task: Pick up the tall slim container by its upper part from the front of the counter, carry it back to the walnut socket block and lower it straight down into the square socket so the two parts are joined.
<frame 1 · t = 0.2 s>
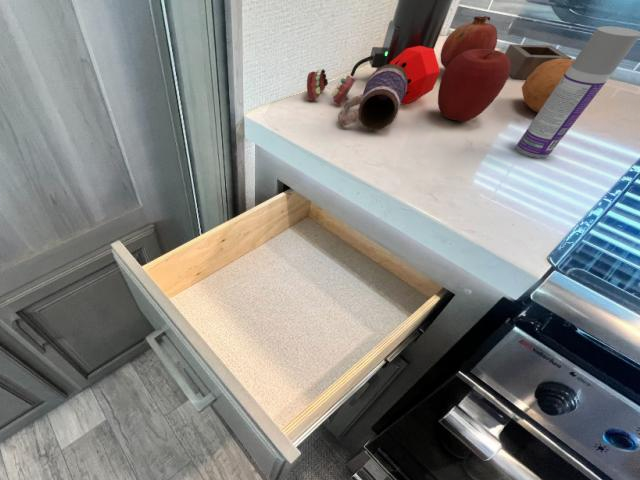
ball: (393, 88, 64), point 1 cm above the worktop
mug: (377, 87, 60), point 3 cm above the worktop
fruit: (456, 75, 72), on the worktop
dentures: (354, 88, 61), point 2 cm above the worktop
container: (531, 151, 51), on the worktop
apple: (454, 118, 59), on the worktop
potato: (539, 111, 60), on the worktop
socket: (526, 72, 73), on the worktop
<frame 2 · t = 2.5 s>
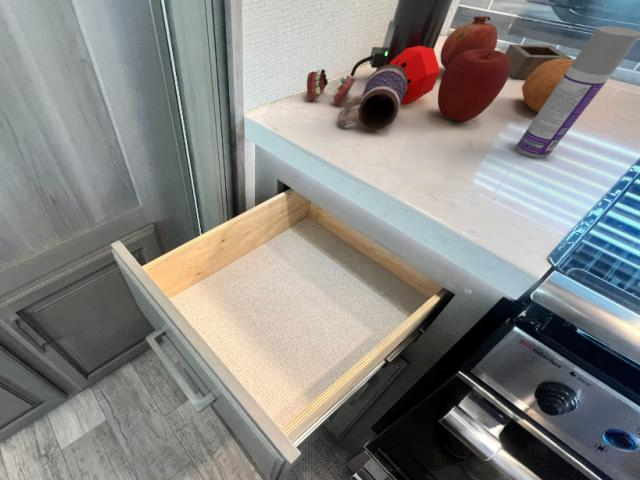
nothing on the worktop moved.
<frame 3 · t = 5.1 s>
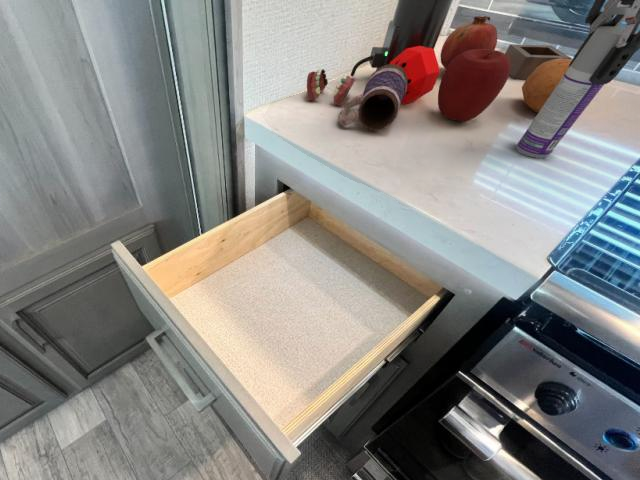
hand: (587, 75, 43), 10 cm above the worktop, tool pointing down, fingers closed on container, 4 cm apart
container: (531, 151, 51), on the worktop, touching gripper
everything else where it was.
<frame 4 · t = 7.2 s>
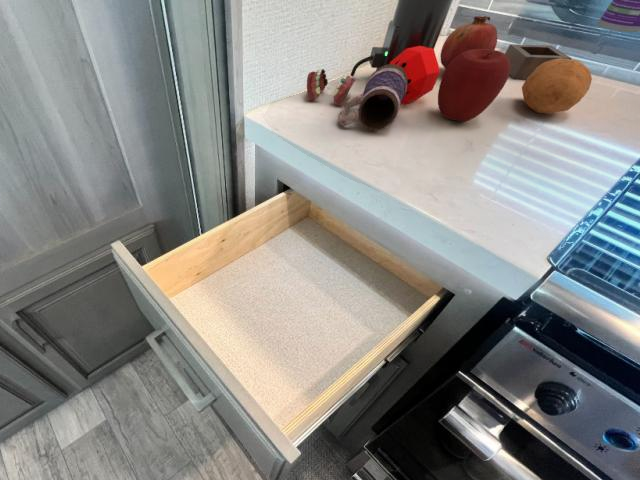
container: (618, 28, 39), point 15 cm above the worktop, touching gripper
everything else where it was.
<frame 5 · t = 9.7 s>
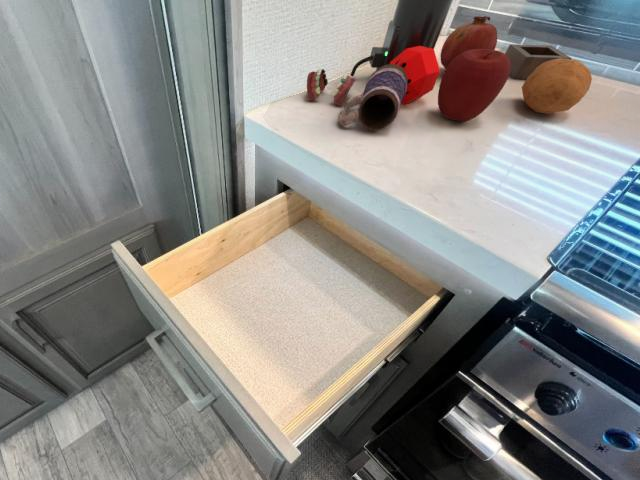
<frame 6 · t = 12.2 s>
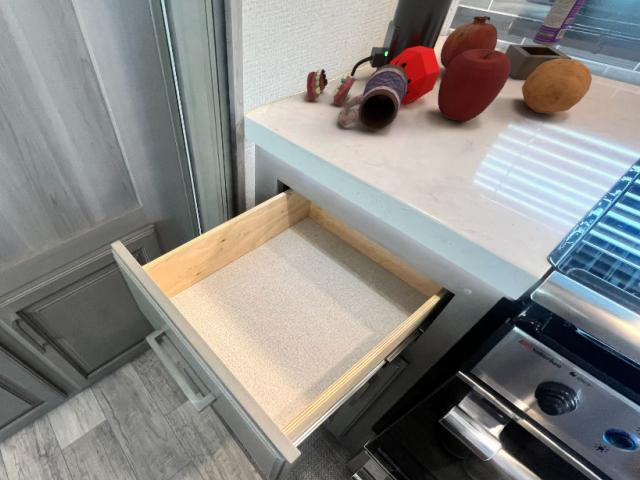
container: (544, 43, 68), point 5 cm above the worktop, touching gripper
everything else where it was.
when the fingers open (10 cm above the worktop, at t = 14.2 s): container stays where it is, resting in socket.
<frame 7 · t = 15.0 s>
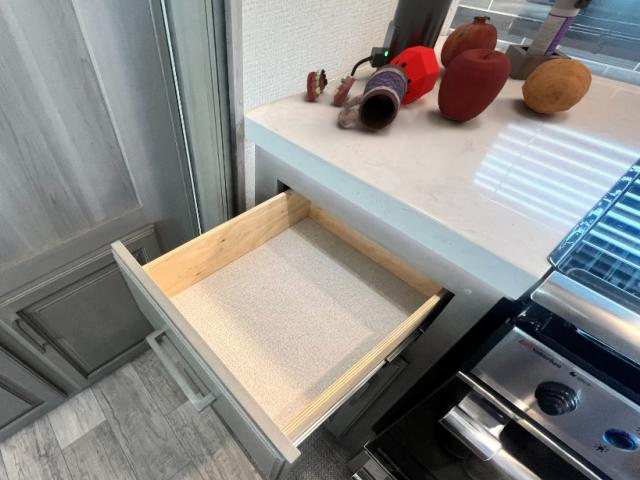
hand: (567, 3, 63), 12 cm above the worktop, tool pointing down, fingers open, 8 cm apart
container: (526, 73, 73), resting in socket
everything else where it was.
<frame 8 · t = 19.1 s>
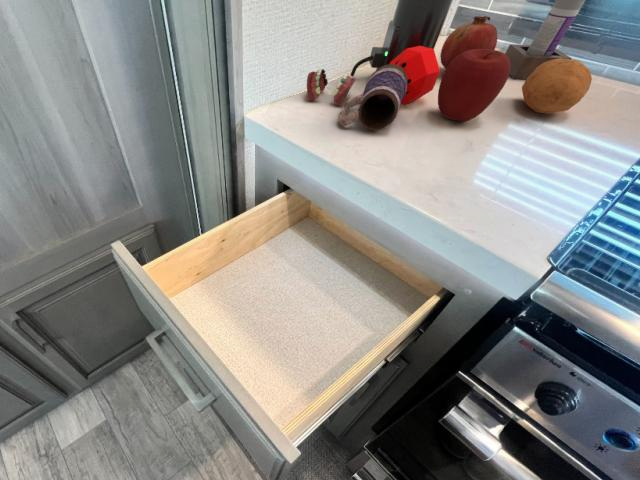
nothing on the worktop moved.
at the end: container 0.2 cm off-centre in the socket, point 0.0 cm above the socket's base; container tilted 0°; the gripper is holding nothing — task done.
